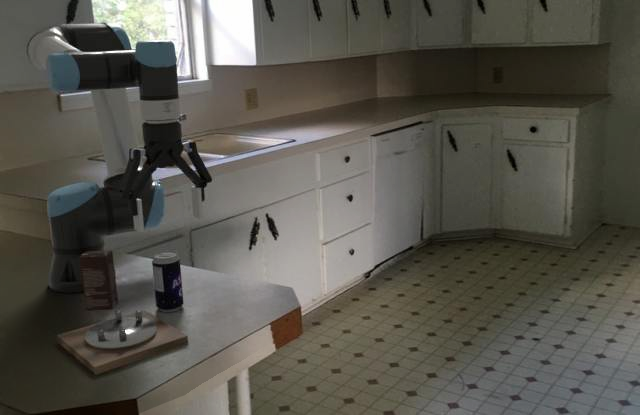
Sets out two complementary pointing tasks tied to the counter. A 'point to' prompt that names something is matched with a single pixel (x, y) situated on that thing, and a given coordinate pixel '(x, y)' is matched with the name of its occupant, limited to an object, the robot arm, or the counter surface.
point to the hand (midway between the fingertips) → (169, 223)
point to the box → (98, 279)
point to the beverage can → (167, 281)
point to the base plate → (110, 360)
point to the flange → (121, 332)
